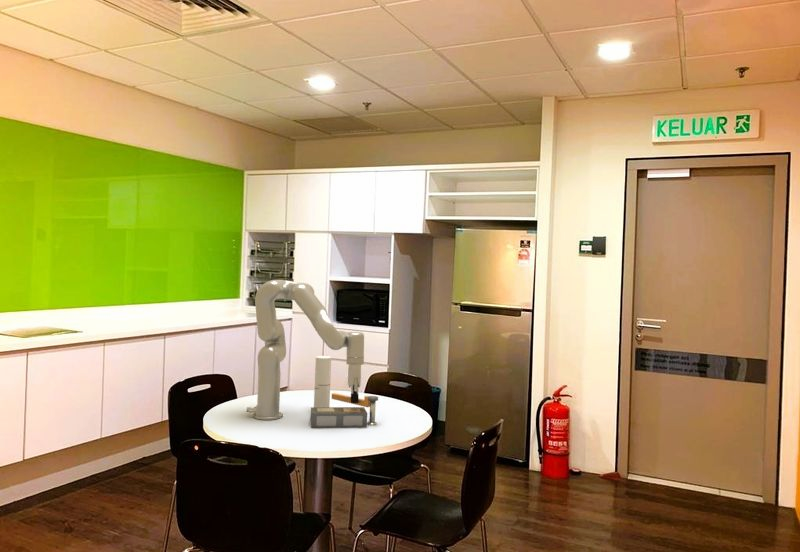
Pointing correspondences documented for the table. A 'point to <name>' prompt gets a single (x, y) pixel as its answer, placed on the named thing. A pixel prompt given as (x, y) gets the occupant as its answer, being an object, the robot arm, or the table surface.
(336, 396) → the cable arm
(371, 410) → the post
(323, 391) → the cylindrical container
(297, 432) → the table surface
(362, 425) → the block
